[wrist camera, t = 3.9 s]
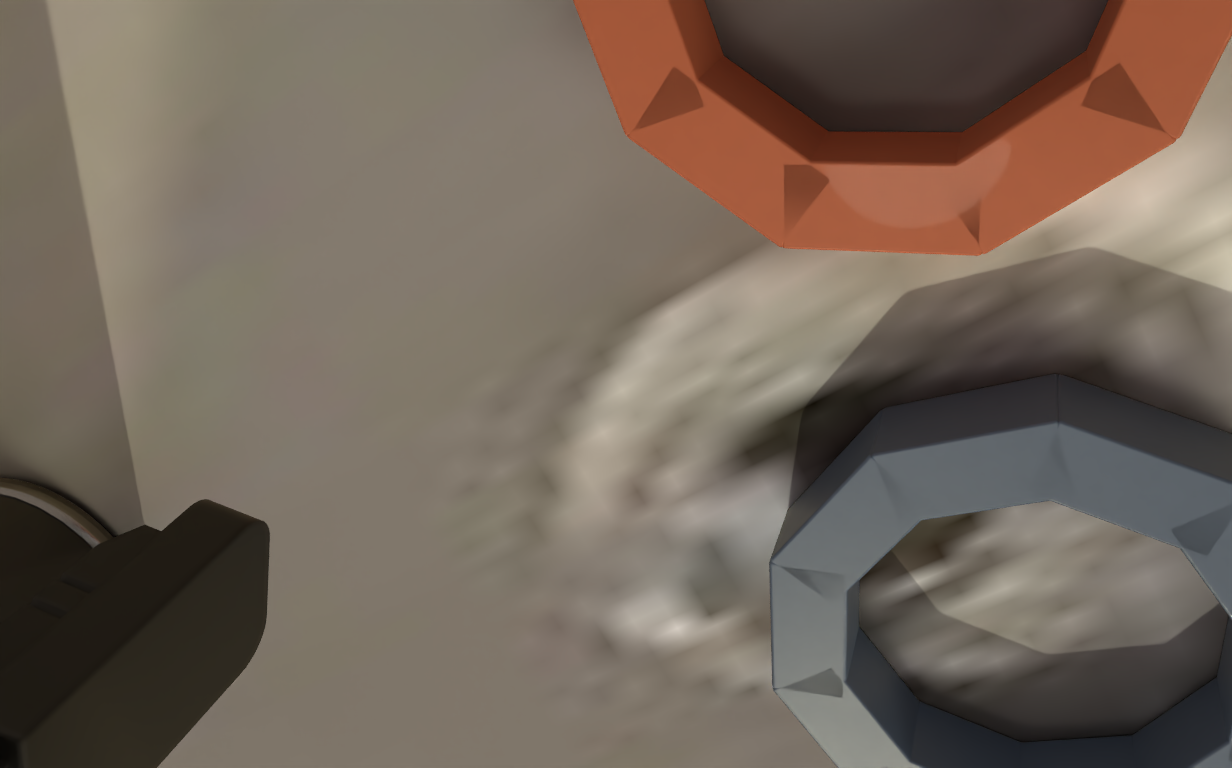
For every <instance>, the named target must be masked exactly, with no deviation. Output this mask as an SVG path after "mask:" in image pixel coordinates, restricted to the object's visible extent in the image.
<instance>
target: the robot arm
mask: <svg viewBox="0 0 1232 768" xmlns="http://www.w3.org/2000/svg"><path fill="white" fill-rule="evenodd" d="M269 542H270V532H269V528H268V526H267V524H266V523H265V522H264V521H261V520H259V519H256V518H254V517H251V516H249V515H246V514H243V513H241V512H238V511H236V510H233V509H231V508H228V507H226V506H223V505H220V504H218V503H215V502H213V501H210V500H207V499H204V500H200V501H198V502H196V503H194V504H193V505H192V506H190V507H189V508H188V509H187V510H186V511H184V512H183V513H182V514H181V515H180V516H179V517H177V518H176V519H175V520H174V521H173V522H172V523H170V524H169V525H168V526H167V527H166V528H165V529H164V530H162V531H159V530H157V529H154V528H152V527H149V526H147V525H143V526H140V527H138V528H136V529H133V530H131V531H128V532H126V533H124V534H121V535H119V536H116V537H114V538H113V537H112V536H111V535H110V533H109V532H108V531H107V530H105V529H104V528H103V527H102V526H101V525H100V524H99V523H98V522H97V521H96V520H94V519H93V518H92V517H91V516H90V515H88V514H87V513H86V512H84V511H83V510H82V509H80V508H79V507H78V506H76V505H75V504H73V503H71V502H70V501H68V500H67V499H65V498H63V497H61V496H60V495H58V494H56V493H54V492H52V491H50V490H48V489H46V488H43V487H40V486H38V485H35V484H32V483H29V482H25V481H22V480H17V479H11V478H0V768H157V767H158V766H159V765H160V763H161V762H162V761H163V760H164V759H165V758H166V757H167V756H168V755H169V753H170V752H171V751H172V750H173V749H174V748H175V747H176V746H177V744H178V743H179V742H180V741H181V740H182V739H183V738H184V737H185V735H186V734H187V733H188V732H189V731H190V730H191V729H192V728H193V726H194V725H195V724H196V723H197V722H198V721H199V720H200V719H201V717H202V716H203V715H204V714H205V713H206V712H207V711H208V710H209V709H210V707H211V706H212V705H213V704H214V703H215V702H216V701H217V700H218V698H219V697H220V696H221V695H222V694H223V693H224V692H225V691H226V689H227V688H228V687H229V686H230V685H231V684H232V683H233V682H234V680H235V679H236V678H237V677H238V676H239V675H240V674H241V673H242V671H243V670H244V669H245V668H246V666H247V665H248V663H249V662H250V660H251V659H252V657H253V655H254V653H255V652H256V650H257V648H258V645H259V643H260V641H261V638H262V635H263V632H264V629H265V624H266V617H267V595H268V568H269Z"/></svg>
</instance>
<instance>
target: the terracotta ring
mask: <svg viewBox="0 0 1232 768" xmlns="http://www.w3.org/2000/svg"><path fill="white" fill-rule="evenodd" d="M573 1H574V4H575V6H576V9H577V12H578V14H579V17H580V19H581V22H582V24H583V27H584V30H585V32H586V35H587V37H588V40H589V42H590V45H591V47H592V50H593V53H594V55H595V58H596V60H597V63H598V65H599V68H600V71H601V73H602V76H603V78H604V81H605V83H606V86H607V89H608V91H609V94H610V96H611V99H612V101H613V104H614V107H615V109H616V112H617V114H618V117H619V119H620V122H621V125H622V127H623V130H624V132H625V134H626V135H627V137H628V138H629V139H631V140H632V141H634V142H635V143H636V144H638V145H639V146H640V147H642V148H643V149H645V150H646V151H647V152H649V153H650V154H652V155H653V156H654V157H656V158H657V159H659V160H660V161H661V162H663V163H664V164H665V165H667V166H668V167H670V168H671V169H672V170H674V171H675V172H677V173H678V174H679V175H681V176H682V177H683V178H685V179H686V180H688V181H689V182H690V183H692V184H693V185H695V186H696V187H697V188H699V189H700V190H702V191H703V192H704V193H706V194H707V195H708V196H710V197H711V198H713V199H714V200H715V201H717V202H718V203H720V204H721V205H722V206H724V207H725V208H727V209H728V210H729V211H731V212H732V213H733V214H735V215H736V216H738V217H739V218H740V219H742V220H743V221H745V222H746V223H747V224H749V225H750V226H751V227H753V228H754V229H756V230H757V231H758V232H760V233H761V234H763V235H764V236H765V237H767V238H768V239H770V240H771V241H772V242H774V243H775V244H776V245H778V246H779V247H782V246H783V248H792V249H818V250H845V251H871V252H897V253H923V254H950V255H976V256H978V255H981V254H985V253H987V252H989V251H991V250H993V249H994V248H996V247H998V246H999V245H1001V244H1003V243H1004V242H1006V241H1008V240H1010V239H1011V238H1013V237H1015V236H1016V235H1018V234H1020V233H1021V232H1023V231H1025V230H1027V229H1028V228H1030V227H1032V226H1033V225H1035V224H1037V223H1038V222H1040V221H1042V220H1044V219H1045V218H1047V217H1049V216H1050V215H1052V214H1054V213H1055V212H1057V211H1059V210H1061V209H1062V208H1064V207H1066V206H1067V205H1069V204H1071V203H1072V202H1074V201H1076V200H1077V199H1079V198H1081V197H1083V196H1084V195H1086V194H1088V193H1089V192H1091V191H1093V190H1094V189H1096V188H1098V187H1100V186H1101V185H1103V184H1105V183H1106V182H1108V181H1110V180H1111V179H1113V178H1115V177H1117V176H1118V175H1120V174H1122V173H1123V172H1125V171H1127V170H1128V169H1130V168H1132V167H1134V166H1135V165H1137V164H1139V163H1140V162H1142V161H1144V160H1145V159H1147V158H1149V157H1150V156H1152V155H1154V154H1156V153H1157V152H1159V151H1161V150H1162V149H1164V148H1166V147H1167V146H1169V145H1171V144H1173V143H1174V142H1175V141H1176V139H1177V138H1179V137H1180V136H1181V135H1182V133H1183V131H1184V129H1185V127H1186V125H1187V123H1188V121H1189V119H1190V117H1191V115H1192V113H1193V111H1194V109H1195V107H1196V105H1197V103H1198V101H1199V99H1200V97H1201V95H1202V93H1203V91H1204V89H1205V87H1206V85H1207V83H1208V81H1209V79H1210V77H1211V75H1212V73H1213V71H1214V69H1215V67H1216V65H1217V63H1218V61H1219V59H1220V57H1221V56H1222V54H1223V52H1224V50H1225V48H1226V46H1227V44H1228V42H1229V40H1230V38H1231V36H1232V0H1108V2H1107V5H1106V7H1105V9H1104V11H1103V14H1102V16H1101V18H1100V21H1099V23H1098V25H1097V27H1096V30H1095V32H1094V34H1093V36H1092V39H1091V41H1090V43H1089V45H1088V48H1087V50H1086V51H1085V52H1083V53H1082V54H1080V55H1079V56H1077V57H1076V58H1074V59H1073V60H1071V61H1070V62H1068V63H1067V64H1065V65H1064V66H1062V67H1061V68H1059V69H1058V70H1056V71H1055V72H1053V73H1052V74H1050V75H1049V76H1047V77H1045V78H1044V79H1042V80H1041V81H1039V82H1038V83H1036V84H1035V85H1033V86H1032V87H1030V88H1029V89H1027V90H1026V91H1024V92H1023V93H1021V94H1020V95H1018V96H1017V97H1015V98H1014V99H1012V100H1011V101H1009V102H1008V103H1006V104H1004V105H1003V106H1001V107H1000V108H998V109H997V110H995V111H994V112H992V113H991V114H989V115H988V116H986V117H985V118H983V119H982V120H980V121H979V122H977V123H976V124H974V125H973V126H971V127H970V128H968V129H967V130H965V131H963V132H839V131H827V130H826V129H824V128H823V127H822V126H820V125H819V124H817V123H816V122H815V121H813V120H812V119H811V118H809V117H808V116H806V115H805V114H804V113H802V112H801V111H799V110H798V109H797V108H795V107H794V106H793V105H791V104H790V103H788V102H787V101H786V100H784V99H783V98H781V97H780V96H779V95H777V94H776V93H775V92H773V91H772V90H770V89H769V88H768V87H766V86H765V85H763V84H762V83H761V82H759V81H758V80H757V79H755V78H754V77H752V76H751V75H750V74H748V73H747V72H745V71H744V70H743V69H741V68H740V67H739V66H737V65H736V64H734V63H733V62H732V61H730V60H729V59H727V58H726V57H725V56H724V55H723V52H722V49H721V46H720V43H719V41H718V38H717V35H716V32H715V29H714V26H713V23H712V21H711V18H710V15H709V12H708V9H707V6H706V3H705V1H704V0H573Z"/></svg>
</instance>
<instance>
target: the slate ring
mask: <svg viewBox="0 0 1232 768" xmlns="http://www.w3.org/2000/svg"><path fill="white" fill-rule="evenodd" d="M1043 501H1053V502H1056V503H1058V504H1061V505H1064V506H1067V507H1069V508H1072V509H1075V510H1077V511H1080V512H1083V513H1086V514H1088V515H1091V516H1094V517H1096V518H1099V519H1102V520H1105V521H1107V522H1110V523H1113V524H1115V525H1118V526H1121V527H1124V528H1126V529H1129V530H1132V531H1134V532H1137V533H1140V534H1143V535H1145V536H1148V537H1151V538H1153V539H1156V540H1159V541H1162V542H1164V543H1167V544H1170V545H1173V546H1175V547H1178V548H1180V549H1181V550H1182V552H1183V553H1184V555H1185V556H1186V557H1187V559H1188V560H1189V561H1190V563H1191V564H1192V566H1193V567H1194V568H1195V570H1196V571H1197V573H1198V574H1199V575H1200V577H1201V578H1202V579H1203V581H1204V582H1205V584H1206V585H1207V586H1208V588H1209V589H1210V590H1211V592H1212V593H1213V595H1214V596H1215V597H1216V599H1217V600H1218V602H1219V603H1220V604H1221V606H1222V607H1223V608H1224V610H1225V611H1226V613H1227V614H1228V615H1229V618H1228V623H1227V628H1226V633H1225V638H1224V644H1223V649H1222V654H1221V659H1220V664H1219V669H1218V674H1217V677H1216V678H1215V679H1213V680H1212V681H1210V682H1209V683H1207V684H1206V685H1205V686H1203V687H1202V688H1200V689H1199V690H1197V691H1196V692H1194V693H1193V694H1191V695H1190V696H1189V697H1187V698H1186V699H1184V700H1183V701H1181V702H1180V703H1178V704H1177V705H1176V706H1174V707H1173V708H1171V709H1170V710H1168V711H1167V712H1165V713H1164V714H1163V715H1161V716H1160V717H1158V718H1157V719H1155V720H1154V721H1152V722H1151V723H1149V724H1148V725H1147V726H1145V727H1144V728H1142V729H1141V730H1139V731H1138V732H1136V733H1135V734H1134V735H1128V736H1113V737H1097V738H1082V739H1067V740H1051V741H1036V742H1019V741H1016V740H1014V739H1011V738H1009V737H1006V736H1004V735H1001V734H999V733H996V732H994V731H992V730H989V729H987V728H984V727H982V726H979V725H977V724H974V723H972V722H969V721H967V720H964V719H962V718H959V717H957V716H954V715H952V714H949V713H947V712H945V711H942V710H940V709H937V708H935V707H932V706H930V705H927V704H925V703H922V702H920V701H918V700H917V698H916V697H915V696H914V695H913V693H912V692H911V691H910V690H909V688H908V687H907V686H906V685H905V683H904V682H903V681H902V680H901V678H900V677H899V676H898V675H897V673H896V672H895V671H894V670H893V668H892V667H891V666H890V665H889V663H888V662H887V661H886V660H885V658H884V657H883V656H882V655H881V653H880V652H879V651H878V650H877V649H876V647H875V646H874V645H873V644H872V642H871V641H870V640H869V639H868V637H867V636H866V635H865V634H864V632H863V631H862V630H861V629H860V627H859V586H860V579H861V578H862V577H863V576H864V575H865V574H866V573H867V572H868V571H869V570H870V569H871V568H872V567H873V566H874V565H875V564H876V563H877V562H878V561H879V560H880V559H881V558H883V557H884V556H885V555H886V554H887V553H888V552H889V551H890V550H891V549H892V548H893V547H894V546H895V545H896V544H897V543H898V542H899V541H900V540H901V539H902V538H903V537H904V536H905V535H906V534H908V533H909V532H910V531H911V530H912V529H913V528H914V527H915V526H916V525H917V524H918V523H919V522H920V521H921V520H926V519H932V518H939V517H945V516H952V515H959V514H965V513H972V512H978V511H985V510H991V509H998V508H1004V507H1011V506H1017V505H1024V504H1030V503H1037V502H1043ZM769 572H770V612H771V652H772V685H773V690H774V692H775V693H776V694H777V695H778V696H779V698H780V699H781V700H782V701H783V702H784V704H785V705H786V706H787V707H788V708H789V710H790V711H791V712H792V713H793V714H794V716H795V717H796V718H797V719H798V720H799V722H800V723H801V724H802V725H803V726H804V728H805V729H806V730H807V731H808V732H809V734H810V735H811V736H812V737H813V738H814V740H815V741H816V742H817V743H818V744H819V746H820V747H821V748H822V749H823V750H824V752H825V753H826V754H827V755H828V756H829V758H830V759H831V760H832V761H833V762H834V764H835V765H836V766H837V767H838V768H1232V434H1230V433H1228V432H1225V431H1222V430H1219V429H1216V428H1213V427H1210V426H1207V425H1205V424H1202V423H1199V422H1196V421H1193V420H1190V419H1187V418H1185V417H1182V416H1179V415H1176V414H1173V413H1170V412H1167V411H1165V410H1162V409H1159V408H1156V407H1153V406H1150V405H1147V404H1145V403H1142V402H1139V401H1136V400H1133V399H1130V398H1127V397H1125V396H1122V395H1119V394H1116V393H1113V392H1110V391H1107V390H1104V389H1102V388H1099V387H1096V386H1093V385H1090V384H1087V383H1084V382H1082V381H1079V380H1076V379H1073V378H1070V377H1067V376H1064V375H1062V374H1059V375H1057V374H1051V375H1046V376H1041V377H1036V378H1031V379H1026V380H1021V381H1016V382H1011V383H1006V384H1001V385H996V386H991V387H986V388H981V389H976V390H971V391H966V392H961V393H956V394H951V395H946V396H941V397H936V398H931V399H926V400H921V401H916V402H911V403H906V404H901V405H896V406H891V407H886V408H884V409H883V410H881V411H879V413H878V414H877V415H876V416H875V417H874V418H873V419H872V420H871V421H870V422H869V423H868V424H867V425H866V426H865V428H864V429H863V430H862V431H861V432H860V433H859V434H858V435H857V436H856V437H855V438H854V439H853V440H852V442H851V443H850V444H849V445H848V446H847V447H846V448H845V449H844V450H843V451H842V452H841V453H840V454H839V456H838V457H837V458H836V459H835V460H834V461H833V462H832V463H831V464H830V465H829V466H828V467H827V468H826V469H825V471H824V472H823V473H822V474H821V475H820V476H819V477H818V478H817V479H816V480H815V481H814V482H813V483H812V485H811V486H810V487H809V488H808V489H807V490H806V491H805V492H804V493H803V494H802V495H801V496H800V497H799V499H798V500H797V501H796V502H795V503H794V504H793V505H792V506H791V507H790V508H789V509H788V511H787V514H786V517H785V519H784V522H783V525H782V528H781V531H780V534H779V536H778V539H777V542H776V545H775V548H774V551H773V553H772V556H771V559H770V562H769Z"/></svg>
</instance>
